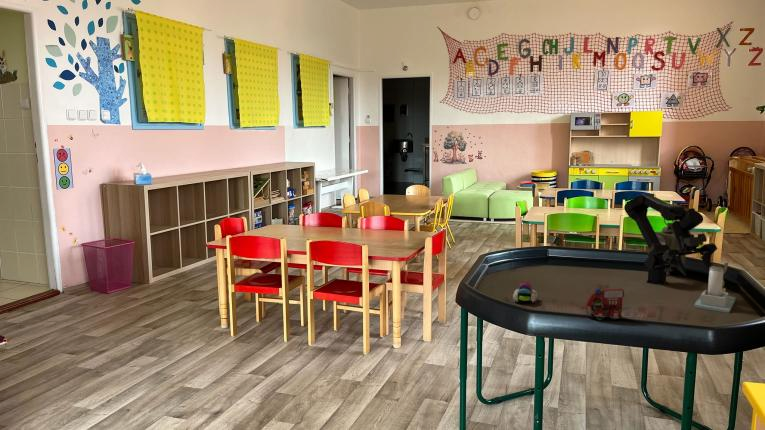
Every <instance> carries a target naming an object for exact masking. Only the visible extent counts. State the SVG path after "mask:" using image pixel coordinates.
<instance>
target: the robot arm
mask: <svg viewBox="0 0 765 430" xmlns="http://www.w3.org/2000/svg"><path fill="white" fill-rule="evenodd" d="M649 208H651V209H652V210H655V211H656V212H658V213H660V216H661V217H662V218H663V220H664V219H665V221H667V222H669V223H670V224H669V226H668V230H672V231H673V234H674V236H675V239H676V241H675V244H678V247H679V249H680V250H679V251H678V250H677V249H669V246H668V245H662V244H661V243H660V241H659V239H658V237H657V235H656V233H655V232H656V231H655V229H654V228H653V225H652V224H651V222H650V219H649V218H648V209H649ZM623 209H624V211H625V213H626V215H627V216H628V218H630V219H632V220H633V221H634V222H635V223H636V225H637V228H638V229H639V231H640V233H641V235H642V238H643V240H644V242H645V244H646V245H647V248H648V252H647V256H648V257H647V258H646V259H645V260H644V267H645V268H647V269H648V270H647V280H646V283H649V284H655V285H656V284H657V285H665V283H667V282H668V276H667V268H670V266H671V264H672V265H674V266H673V267H675V268H676V269H677V270H678V271H679V272H680V273H681V274H682V275H683V276H687V271H686V269H685V266H684V264H682V261H681V256H683V255H686V256H689V255H695V254H700V255H701V256H700V259H701V260H702V263H703V265H704V267H705V269H706V270H707V272H708V273H709V269H710V267H711V266H712V265H711V264H712V263H711V261H712V260H711V259H712V255H713V254H715V252H716V251H717V250H718V247H717V245H716V244H715V243H714V242H711V243H705V242H708V241H707V240H708V239H707V236H706V233H703V232H702V233H697V236H695V235H694V234H693V233H692V234H691V231H692V230H694V229H695V228H696V227H698V226H699V225H700V224H703V222H704V216H703V215H702V214H701V213H700V212H699V211H697V210H695V208H694V207H693V208H688V209H687V210H686V209H685V207H684V206H682V205H679V204H676V203H675V204H673V203H669V202H666V201H664V200H663V199H660V198H658V197H656V196H654V195H653V194H651V193H641V194H639V195H637V196H636V197H634V198H631V199H630V200H628V201H626V202H625V204H624V208H623ZM670 221H671V222H670ZM672 221H674V223H673V222H672ZM704 243H705V244H704ZM700 246H701V247H700ZM671 267H672V266H671Z"/></svg>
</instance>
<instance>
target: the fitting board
mask: <svg viewBox="0 0 765 430" xmlns="http://www.w3.org/2000/svg"><path fill="white" fill-rule="evenodd" d="M736 299H737V298H736V296H730V295H729V292H727V290H726V287H722V296H721V297H718V296H711V295H708V289H704V290H703V291H702V293H701V294H700V295H699V297H698V298H697V300H696V301H695V303H694V304H693V308H696V309H701V310H707V311H708V310H709V311H715V312H721V313H727V314H729V313H730V312H731V310H732V308H733V306H734V304H735V302H736Z"/></svg>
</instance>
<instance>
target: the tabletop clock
mask: <svg viewBox="0 0 765 430" xmlns="http://www.w3.org/2000/svg"><path fill="white" fill-rule="evenodd" d="M674 222H675V220H674V221H671V222H670V221H667V222H666V220H665V219H664V218H663V223H664V225H666V226H664V227H663V228H661V231H655V233H656V235H657V237H658V239H659V241H660V243H661V244H662V245H668V246H669V249H677V250H678V251H679V250H680V249H679V247H678V244H675V241H676V239H675V236H674V234H673V231H672V230H668V226H669V224H670V223H674ZM686 256H687V255H683V256H681V261H682V264H683V265H684V264H685V262H686V258H687V257H686ZM672 267H675V266H674V265H672V264H671V266H670V268H666V271H667V277H668V276H670V273H672V272H673V269H672Z"/></svg>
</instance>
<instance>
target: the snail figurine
mask: <svg viewBox="0 0 765 430" xmlns="http://www.w3.org/2000/svg"><path fill="white" fill-rule="evenodd" d="M726 261H727V262H724V263H723V265H724V266H723V265H722V264H720V263H713V264H712V265H711V267H722V268H724V270H723V275H725V274H726V272H727V269H728V266H729V261H730V260H729V259H726ZM724 286H725V280H724V279H723V283H722V288H724Z"/></svg>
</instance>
